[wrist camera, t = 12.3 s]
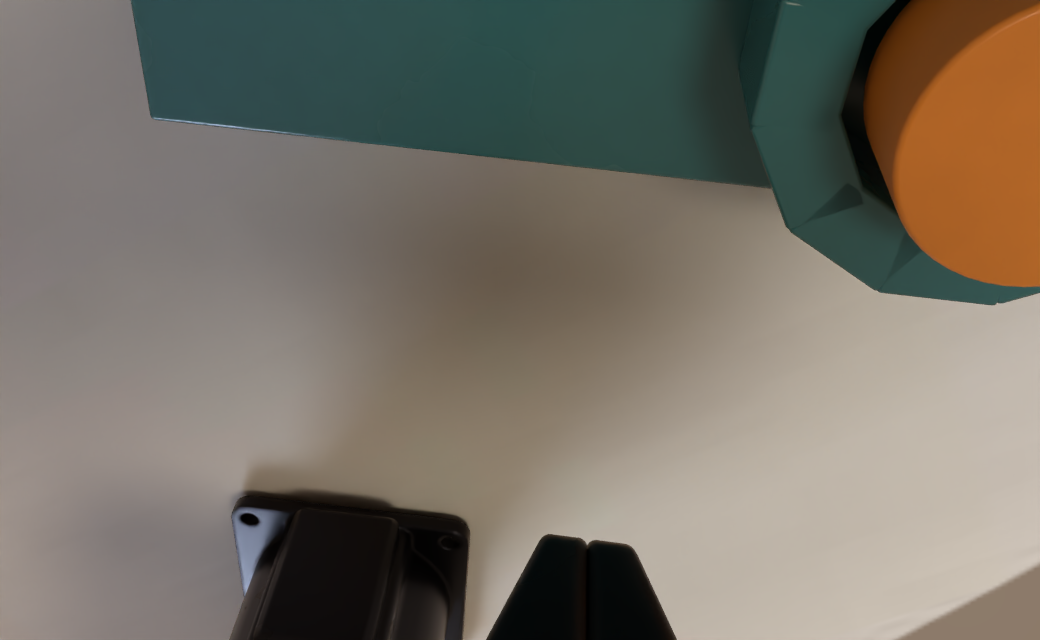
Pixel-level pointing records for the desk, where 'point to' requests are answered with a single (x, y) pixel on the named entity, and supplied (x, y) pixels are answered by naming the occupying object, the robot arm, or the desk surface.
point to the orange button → (962, 133)
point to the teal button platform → (573, 96)
